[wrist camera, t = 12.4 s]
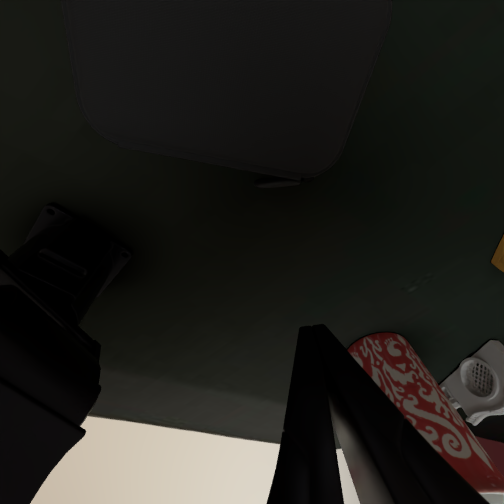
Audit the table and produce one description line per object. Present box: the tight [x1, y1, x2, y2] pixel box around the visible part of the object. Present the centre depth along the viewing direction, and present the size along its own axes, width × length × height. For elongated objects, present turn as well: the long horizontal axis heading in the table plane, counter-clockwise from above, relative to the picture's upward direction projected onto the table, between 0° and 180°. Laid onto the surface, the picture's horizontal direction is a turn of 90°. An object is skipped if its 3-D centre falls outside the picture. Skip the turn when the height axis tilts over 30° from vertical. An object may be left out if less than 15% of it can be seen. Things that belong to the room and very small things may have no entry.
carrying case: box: [61, 0, 392, 188], centre depth 14 cm, size 11×3×15 cm
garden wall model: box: [439, 340, 504, 426], centre depth 31 cm, size 12×2×6 cm, turn 168°
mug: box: [347, 332, 504, 504], centre depth 26 cm, size 13×9×14 cm
